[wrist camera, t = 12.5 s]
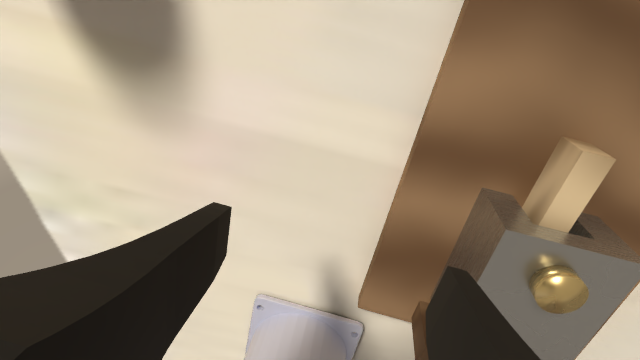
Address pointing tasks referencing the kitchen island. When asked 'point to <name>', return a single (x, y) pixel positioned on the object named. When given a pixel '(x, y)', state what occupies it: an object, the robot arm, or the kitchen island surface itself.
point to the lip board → (516, 138)
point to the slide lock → (545, 273)
